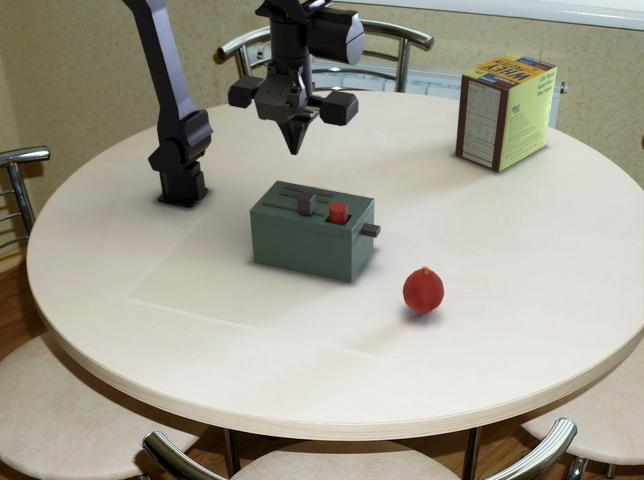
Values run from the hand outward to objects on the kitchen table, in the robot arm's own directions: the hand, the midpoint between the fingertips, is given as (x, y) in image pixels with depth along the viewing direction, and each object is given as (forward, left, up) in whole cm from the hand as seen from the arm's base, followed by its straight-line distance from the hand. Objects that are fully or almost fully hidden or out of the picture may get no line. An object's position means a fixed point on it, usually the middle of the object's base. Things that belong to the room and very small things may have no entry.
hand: (294, 154), depth 131 cm
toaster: (+7, -7, -13) cm, 16 cm away
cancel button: (+11, -10, -4) cm, 15 cm away
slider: (+6, -10, -4) cm, 12 cm away
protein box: (+25, +39, -13) cm, 48 cm away
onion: (+26, -16, -13) cm, 33 cm away
